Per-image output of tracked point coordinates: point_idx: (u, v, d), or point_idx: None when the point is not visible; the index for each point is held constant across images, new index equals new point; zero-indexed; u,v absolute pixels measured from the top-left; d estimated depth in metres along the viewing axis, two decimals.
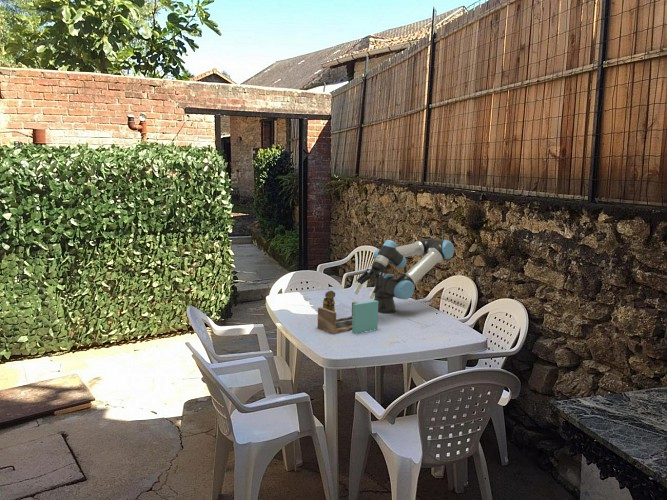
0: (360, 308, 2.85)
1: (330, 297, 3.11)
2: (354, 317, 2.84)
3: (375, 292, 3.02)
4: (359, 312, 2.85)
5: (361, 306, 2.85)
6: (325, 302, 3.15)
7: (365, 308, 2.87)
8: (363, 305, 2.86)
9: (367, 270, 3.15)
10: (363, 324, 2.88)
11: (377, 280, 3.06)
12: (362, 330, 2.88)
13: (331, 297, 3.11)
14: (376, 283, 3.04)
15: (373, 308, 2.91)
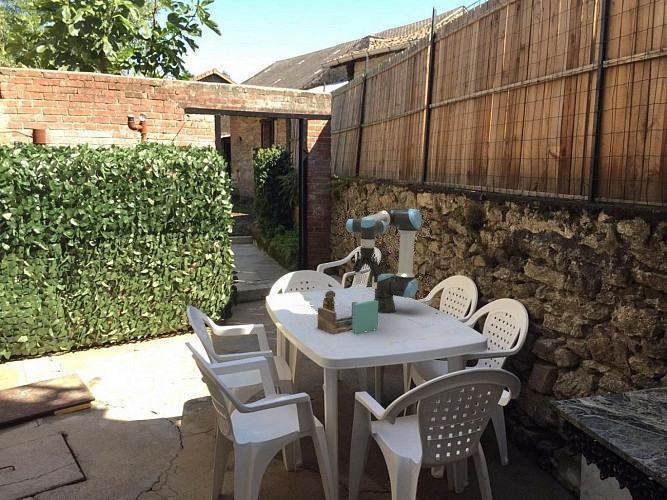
0: (360, 308, 2.85)
1: (330, 297, 3.11)
2: (354, 317, 2.84)
3: (376, 281, 2.80)
4: (359, 312, 2.85)
5: (361, 306, 2.85)
6: (325, 302, 3.15)
7: (365, 308, 2.87)
8: (363, 305, 2.86)
9: (358, 256, 2.89)
10: (363, 324, 2.88)
11: (372, 267, 2.81)
12: (362, 330, 2.88)
13: (331, 297, 3.11)
14: (373, 272, 2.80)
15: (373, 308, 2.91)
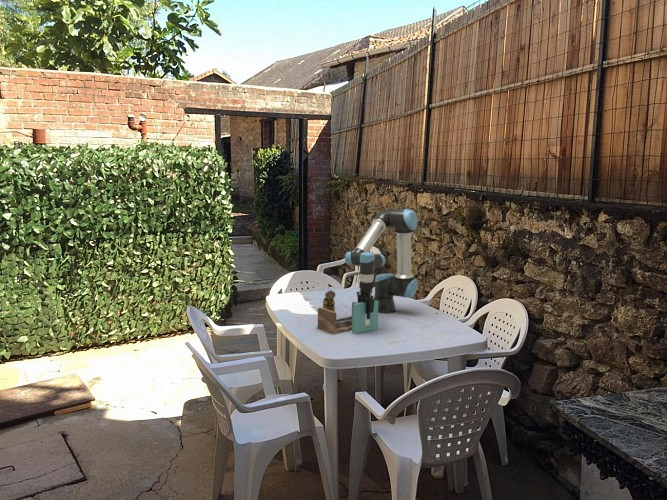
0: (360, 308, 2.85)
1: (330, 297, 3.11)
2: (354, 317, 2.84)
3: (368, 318, 2.87)
4: (359, 312, 2.85)
5: (361, 306, 2.85)
6: (325, 302, 3.15)
7: (365, 308, 2.87)
8: (363, 305, 2.86)
9: (358, 293, 2.91)
10: (363, 324, 2.88)
11: (368, 304, 2.86)
12: (362, 330, 2.88)
13: (331, 297, 3.11)
14: (366, 309, 2.86)
15: None
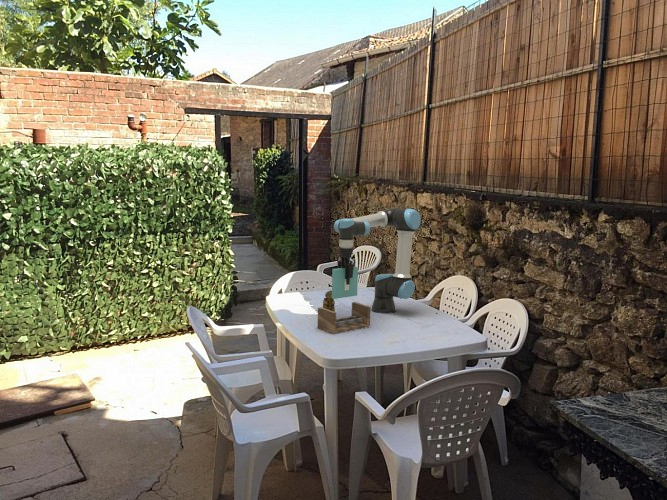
0: (340, 274, 2.89)
1: (330, 297, 3.11)
2: (333, 282, 2.88)
3: (348, 283, 2.91)
4: (339, 277, 2.89)
5: (340, 271, 2.89)
6: (325, 302, 3.15)
7: (344, 273, 2.91)
8: (342, 270, 2.90)
9: (338, 259, 2.95)
10: (342, 289, 2.92)
11: (347, 269, 2.90)
12: (342, 295, 2.92)
13: (331, 297, 3.11)
14: (346, 274, 2.90)
15: (353, 274, 2.95)
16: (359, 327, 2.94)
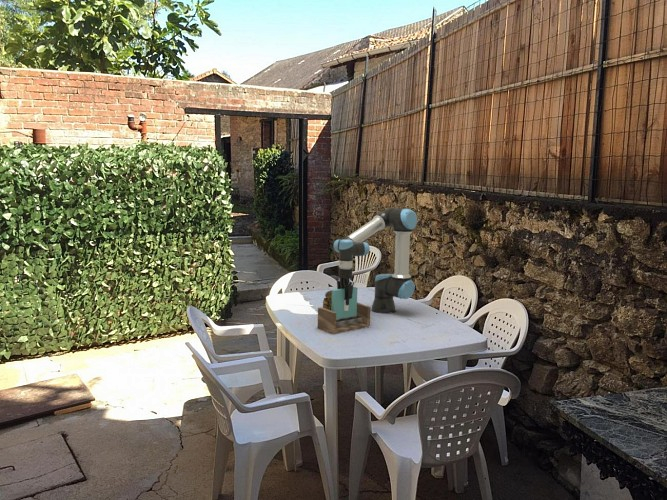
0: (339, 294, 2.91)
1: (330, 297, 3.11)
2: (333, 303, 2.90)
3: (347, 304, 2.93)
4: (338, 298, 2.90)
5: (340, 292, 2.91)
6: (325, 302, 3.15)
7: (344, 294, 2.93)
8: (342, 291, 2.92)
9: (337, 280, 2.97)
10: (342, 310, 2.93)
11: (347, 290, 2.92)
12: (341, 316, 2.93)
13: (331, 297, 3.11)
14: (345, 295, 2.92)
15: (352, 295, 2.96)
16: (359, 327, 2.94)
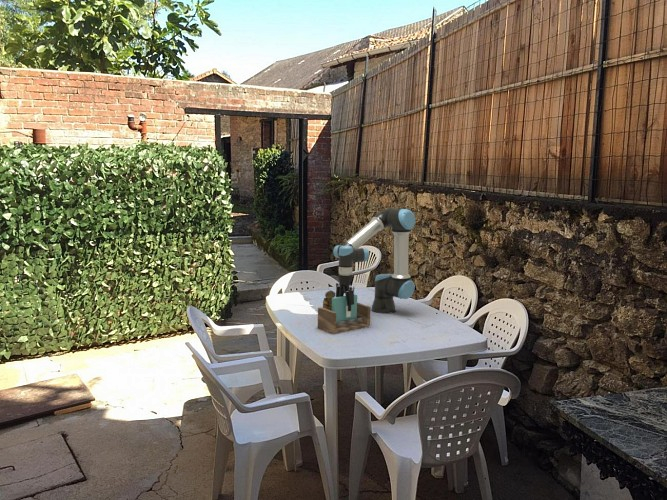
0: (339, 302, 2.91)
1: (330, 297, 3.11)
2: (333, 311, 2.90)
3: (350, 310, 2.92)
4: (338, 306, 2.91)
5: (340, 300, 2.91)
6: (325, 302, 3.15)
7: (344, 302, 2.93)
8: (342, 299, 2.92)
9: (337, 285, 2.97)
10: (342, 318, 2.94)
11: (348, 296, 2.91)
12: None
13: (331, 297, 3.11)
14: (347, 301, 2.91)
15: None
16: (359, 327, 2.94)
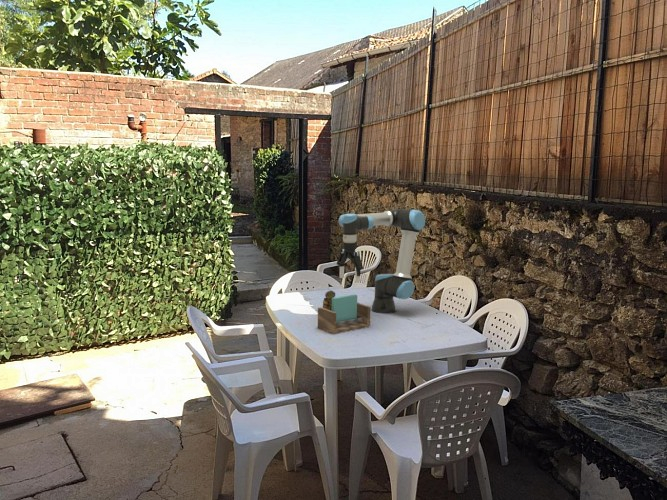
0: (339, 302, 2.91)
1: (330, 297, 3.11)
2: (333, 311, 2.90)
3: (359, 275, 2.91)
4: (338, 306, 2.91)
5: (340, 300, 2.91)
6: (325, 302, 3.15)
7: (344, 302, 2.93)
8: (342, 299, 2.92)
9: (341, 251, 2.99)
10: (342, 318, 2.94)
11: (355, 261, 2.92)
12: None
13: (331, 297, 3.11)
14: (355, 266, 2.91)
15: (352, 302, 2.97)
16: (359, 327, 2.94)
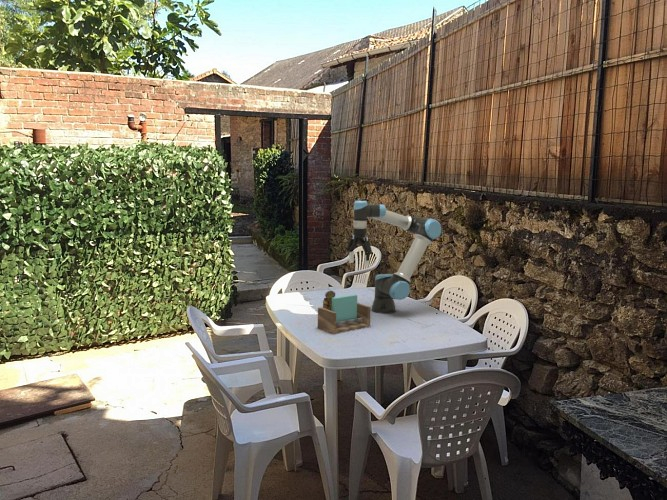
0: (339, 302, 2.91)
1: (330, 297, 3.11)
2: (333, 311, 2.90)
3: (368, 259, 3.03)
4: (338, 306, 2.91)
5: (340, 300, 2.91)
6: (325, 302, 3.15)
7: (344, 302, 2.93)
8: (342, 299, 2.92)
9: (351, 237, 3.12)
10: (342, 318, 2.94)
11: (364, 246, 3.04)
12: None
13: (331, 297, 3.11)
14: (365, 251, 3.03)
15: (352, 302, 2.97)
16: (359, 327, 2.94)
